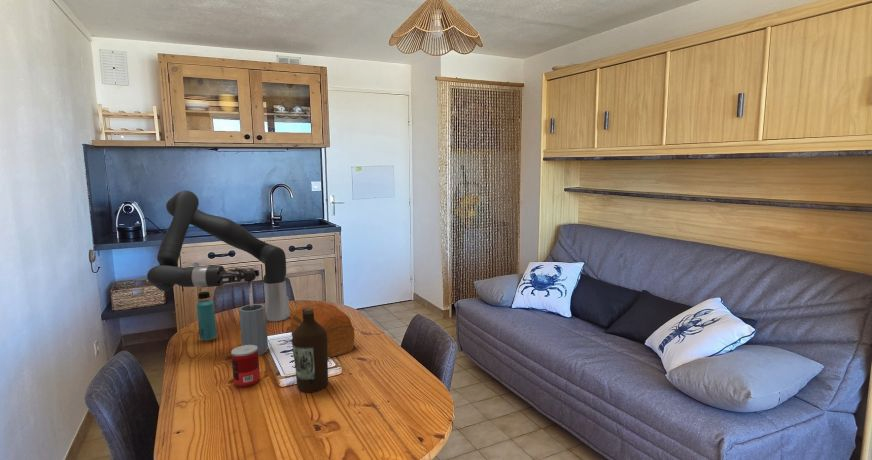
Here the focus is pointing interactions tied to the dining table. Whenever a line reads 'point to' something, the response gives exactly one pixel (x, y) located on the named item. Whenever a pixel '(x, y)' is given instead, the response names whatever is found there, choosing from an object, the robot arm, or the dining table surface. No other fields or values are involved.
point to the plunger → (250, 286)
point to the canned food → (245, 365)
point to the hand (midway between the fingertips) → (256, 274)
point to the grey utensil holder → (254, 327)
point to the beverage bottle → (206, 317)
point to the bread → (330, 326)
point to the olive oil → (310, 354)
